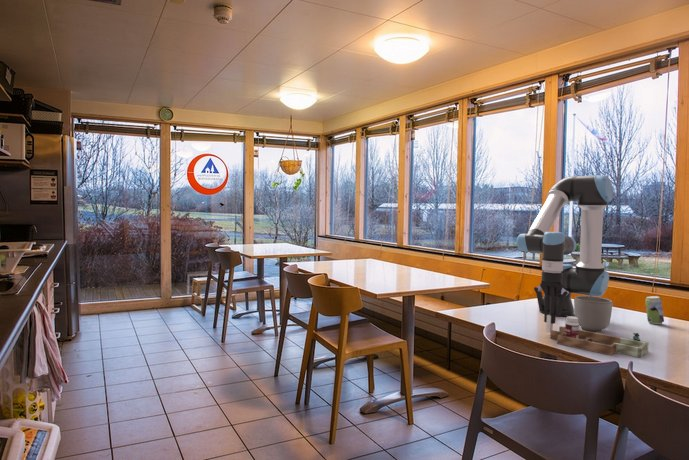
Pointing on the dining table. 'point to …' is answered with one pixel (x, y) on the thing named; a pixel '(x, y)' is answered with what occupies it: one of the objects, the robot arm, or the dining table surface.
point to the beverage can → (654, 310)
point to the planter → (592, 312)
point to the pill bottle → (572, 327)
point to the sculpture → (636, 336)
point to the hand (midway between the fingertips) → (549, 331)
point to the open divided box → (616, 342)
